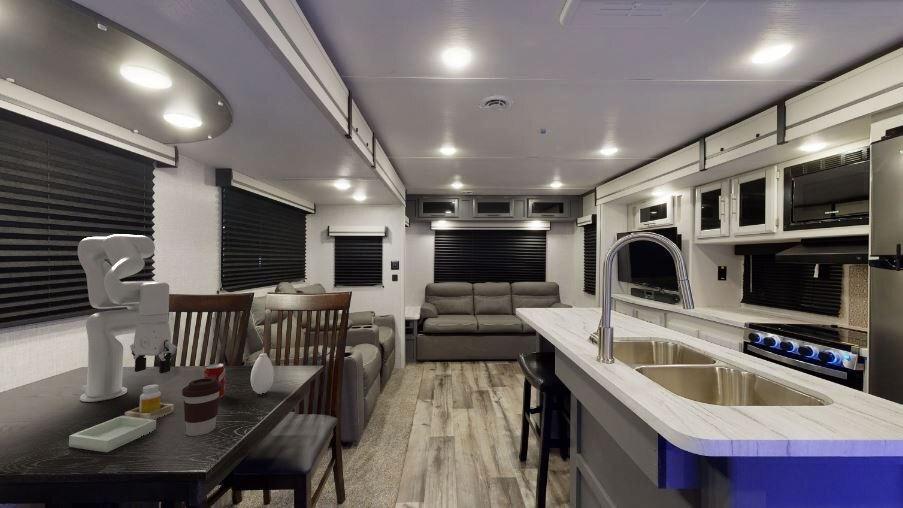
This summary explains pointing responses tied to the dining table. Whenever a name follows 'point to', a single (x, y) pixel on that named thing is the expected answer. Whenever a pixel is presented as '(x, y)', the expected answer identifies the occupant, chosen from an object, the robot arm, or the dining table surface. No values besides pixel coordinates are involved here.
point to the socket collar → (153, 415)
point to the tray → (112, 433)
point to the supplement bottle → (150, 399)
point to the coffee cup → (201, 405)
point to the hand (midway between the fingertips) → (152, 371)
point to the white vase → (262, 374)
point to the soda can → (216, 375)
